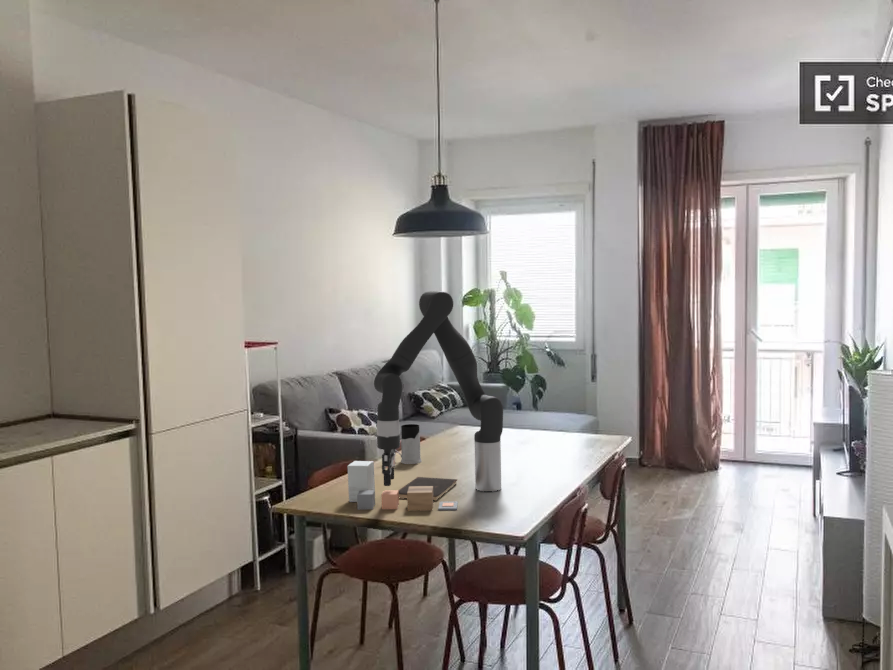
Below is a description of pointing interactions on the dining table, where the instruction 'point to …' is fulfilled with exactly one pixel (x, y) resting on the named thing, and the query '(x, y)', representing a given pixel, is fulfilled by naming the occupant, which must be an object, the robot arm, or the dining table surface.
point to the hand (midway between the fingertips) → (389, 482)
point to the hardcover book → (438, 485)
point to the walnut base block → (420, 498)
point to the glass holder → (410, 444)
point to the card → (448, 505)
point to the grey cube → (366, 499)
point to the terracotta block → (390, 499)
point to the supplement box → (360, 478)
